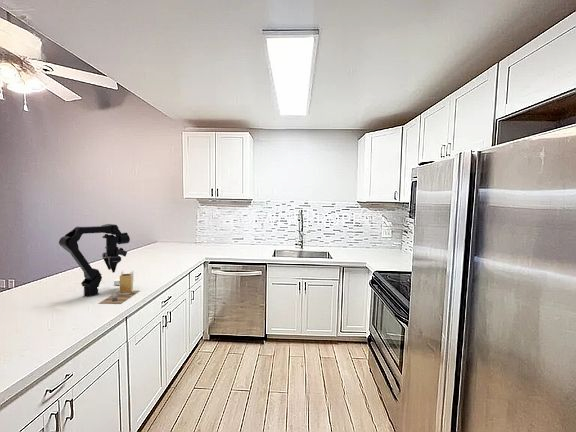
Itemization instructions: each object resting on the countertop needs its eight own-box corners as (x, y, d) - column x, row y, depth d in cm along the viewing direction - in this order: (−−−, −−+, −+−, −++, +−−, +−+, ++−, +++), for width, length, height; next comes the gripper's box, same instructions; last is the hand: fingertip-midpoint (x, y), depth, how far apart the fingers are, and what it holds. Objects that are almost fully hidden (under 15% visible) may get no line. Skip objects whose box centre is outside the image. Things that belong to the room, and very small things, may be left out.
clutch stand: (121, 306, 184) (120, 295, 183) (97, 306, 183) (97, 295, 183) (140, 293, 210) (140, 283, 209) (120, 292, 209) (120, 282, 209)
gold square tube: (130, 293, 201) (131, 275, 201) (119, 293, 200) (119, 276, 199) (132, 290, 207) (132, 273, 207) (121, 290, 206) (121, 273, 205)
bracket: (122, 281, 238) (122, 270, 237) (133, 281, 238) (133, 270, 237) (113, 286, 225) (113, 274, 224) (125, 286, 225) (125, 274, 224)
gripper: (130, 246, 206) (130, 272, 207) (121, 242, 220) (121, 266, 221) (109, 247, 199) (110, 274, 200) (101, 243, 213) (102, 268, 214)
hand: (111, 271), depth 209 cm, fingers open, 9 cm apart
